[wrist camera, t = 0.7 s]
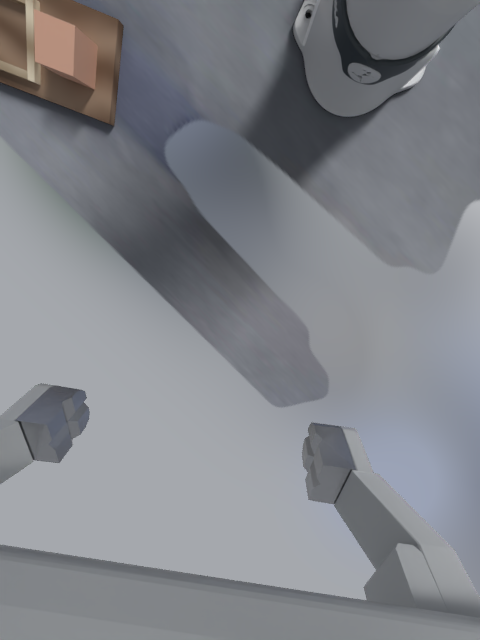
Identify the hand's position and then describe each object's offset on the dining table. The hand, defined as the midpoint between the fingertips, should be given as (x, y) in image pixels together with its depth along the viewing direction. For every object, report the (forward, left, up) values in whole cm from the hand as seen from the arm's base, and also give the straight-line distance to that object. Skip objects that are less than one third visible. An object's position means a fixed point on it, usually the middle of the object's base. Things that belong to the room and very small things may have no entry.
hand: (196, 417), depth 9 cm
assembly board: (-15, -36, -43) cm, 58 cm away
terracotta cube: (-15, -31, -41) cm, 54 cm away
